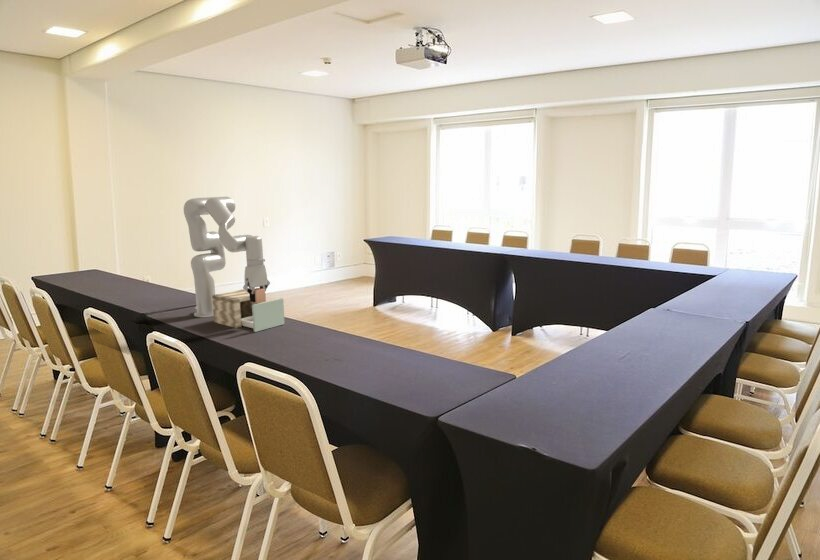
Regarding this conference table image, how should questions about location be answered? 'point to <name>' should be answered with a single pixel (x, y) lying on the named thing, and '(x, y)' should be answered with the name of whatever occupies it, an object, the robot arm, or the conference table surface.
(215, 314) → the beige brown striped box
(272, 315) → the mint green drawer
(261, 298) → the block
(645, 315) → the conference table surface
